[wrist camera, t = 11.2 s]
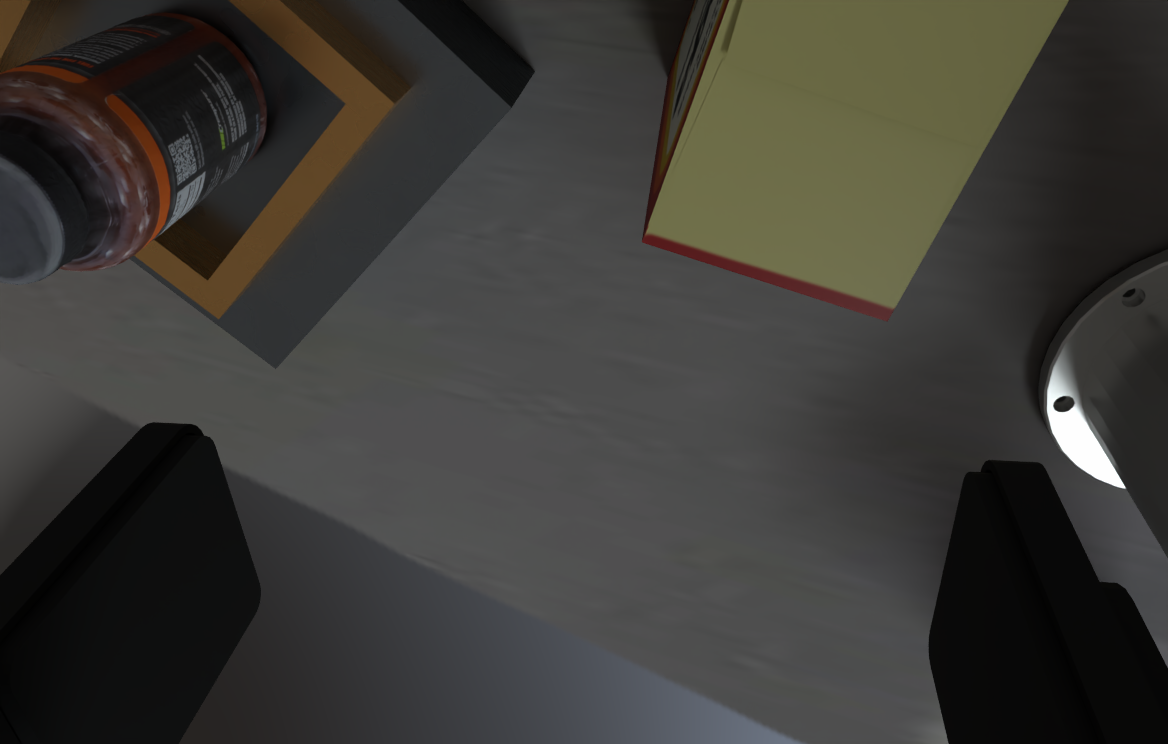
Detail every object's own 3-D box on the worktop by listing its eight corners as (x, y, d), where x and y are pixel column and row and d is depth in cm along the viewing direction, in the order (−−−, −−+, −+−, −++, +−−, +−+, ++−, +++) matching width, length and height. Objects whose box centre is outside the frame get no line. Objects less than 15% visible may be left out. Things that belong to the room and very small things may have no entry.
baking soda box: (823, 130, 36) (890, 328, 22) (667, 77, 35) (640, 248, 22) (941, -132, 31) (1120, -77, 17) (760, -196, 30) (800, -191, 17)
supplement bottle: (81, 60, 33) (-179, 168, 23) (196, -26, 30) (-38, 54, 21) (193, 199, 35) (-1, 348, 26) (307, 128, 33) (141, 262, 23)
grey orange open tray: (535, 71, 36) (500, 125, 30) (317, 313, 43) (256, 394, 37) (34, -414, 29) (-135, -467, 23) (-120, -32, 37) (-278, 0, 31)
